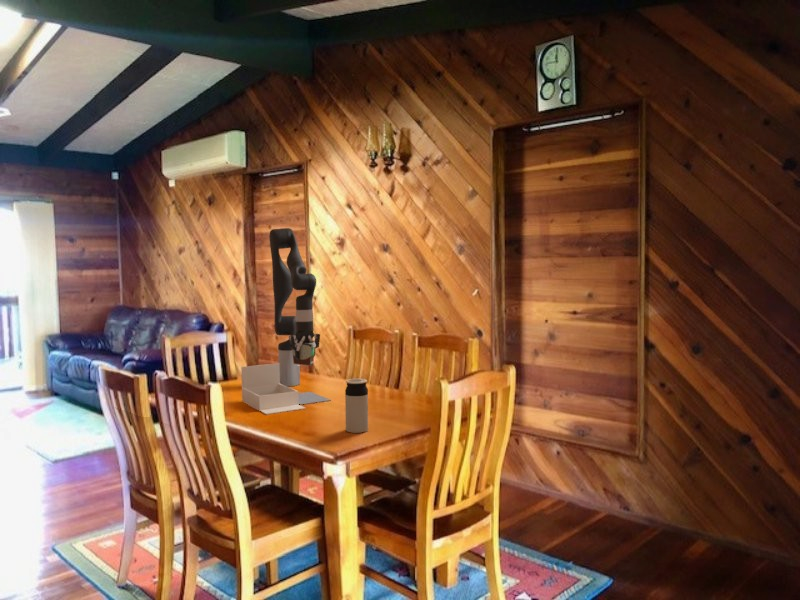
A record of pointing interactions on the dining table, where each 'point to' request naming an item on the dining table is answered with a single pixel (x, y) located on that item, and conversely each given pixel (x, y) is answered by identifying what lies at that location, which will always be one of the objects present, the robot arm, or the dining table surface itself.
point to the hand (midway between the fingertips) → (305, 358)
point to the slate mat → (310, 398)
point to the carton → (267, 390)
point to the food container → (305, 354)
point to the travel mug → (356, 405)
